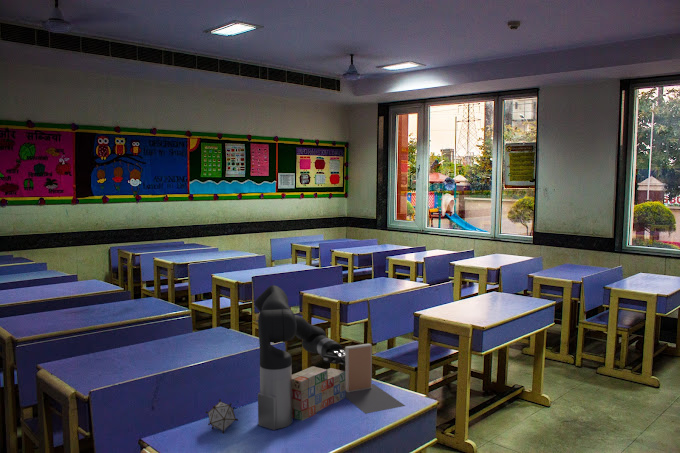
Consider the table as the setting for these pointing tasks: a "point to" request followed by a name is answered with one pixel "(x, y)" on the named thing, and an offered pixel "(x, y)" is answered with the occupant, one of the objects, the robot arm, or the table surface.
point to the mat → (372, 400)
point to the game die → (221, 416)
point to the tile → (358, 367)
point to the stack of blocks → (316, 390)
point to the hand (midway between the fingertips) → (349, 363)
